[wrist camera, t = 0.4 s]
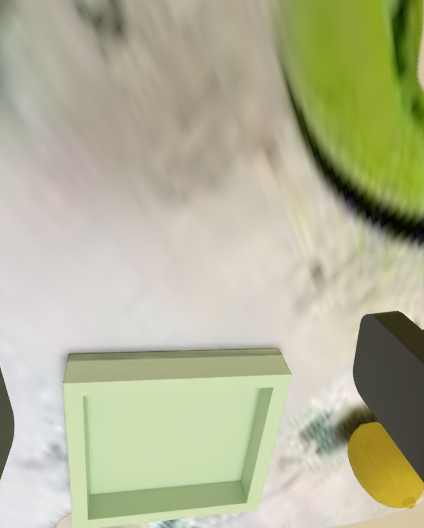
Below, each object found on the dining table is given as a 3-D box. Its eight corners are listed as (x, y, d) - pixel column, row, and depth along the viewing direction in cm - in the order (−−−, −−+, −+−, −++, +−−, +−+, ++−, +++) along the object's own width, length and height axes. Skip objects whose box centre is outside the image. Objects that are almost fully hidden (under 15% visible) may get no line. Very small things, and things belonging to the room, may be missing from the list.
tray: (69, 354, 29) (62, 383, 27) (278, 348, 32) (291, 374, 30) (77, 496, 36) (73, 530, 34) (249, 479, 39) (257, 510, 37)
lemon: (322, 435, 38) (364, 520, 31) (361, 396, 37) (415, 476, 30) (360, 451, 41) (408, 533, 34) (399, 414, 39) (458, 493, 32)
